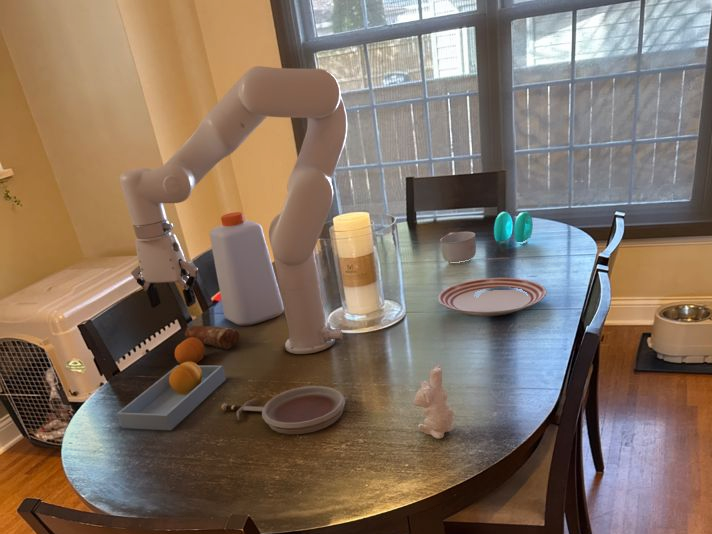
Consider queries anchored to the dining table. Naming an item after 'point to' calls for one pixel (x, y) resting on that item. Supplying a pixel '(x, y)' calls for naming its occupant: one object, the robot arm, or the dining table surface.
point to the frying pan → (299, 409)
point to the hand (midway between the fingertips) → (173, 305)
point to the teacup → (458, 247)
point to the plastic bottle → (244, 271)
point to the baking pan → (168, 402)
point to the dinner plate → (491, 296)
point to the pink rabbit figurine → (434, 406)
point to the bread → (214, 335)
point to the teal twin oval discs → (505, 227)
